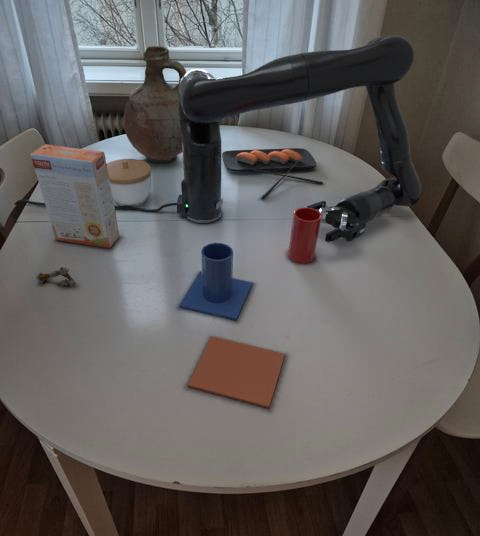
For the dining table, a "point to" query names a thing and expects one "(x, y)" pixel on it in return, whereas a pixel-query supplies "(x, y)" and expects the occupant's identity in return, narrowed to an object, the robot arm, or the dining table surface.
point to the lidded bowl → (129, 181)
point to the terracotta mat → (238, 371)
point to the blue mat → (224, 309)
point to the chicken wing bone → (62, 271)
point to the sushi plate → (270, 161)
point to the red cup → (304, 235)
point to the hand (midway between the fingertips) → (313, 229)
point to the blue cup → (217, 272)
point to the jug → (155, 110)
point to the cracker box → (77, 194)
